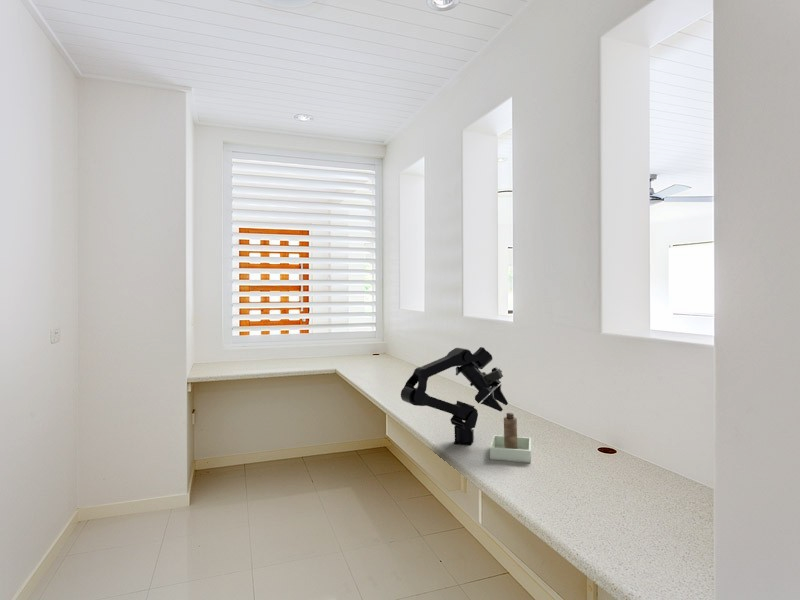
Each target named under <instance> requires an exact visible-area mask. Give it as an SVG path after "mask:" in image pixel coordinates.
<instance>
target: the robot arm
mask: <svg viewBox="0 0 800 600" xmlns="http://www.w3.org/2000/svg"><path fill="white" fill-rule="evenodd" d="M492 361H493V356H492V354H491V353H490V352H489V351H488V350H486V349H485V347H482V346H480V347H479V348H478V349H477V350H476V351H475V352H472V351H471V350H469V348H463V347H455V348H453V349H451V350H450V351H449V352H448V353H447V354H446V355H445V356H442V357H441V358H439V359H436V360H434V361H431V362H429V363H427V364H424V365H422V366H418V367H416V368H415V369H414V370H413V372H412V375H410V377H409V378H408V379H407V381H406V382H405V384H404V387H403V388H402V389H401V391H400V399H401V400H402V401H403V402H405V403H408V404H410V405H413V406H417V407H426V406H427V407H429V408H431V409H432V408H433V409H436V410H439V411H442V412H445V413H448V414H451V415H452V417H451V418H450V419H449V420H450V423H451V425H453V426H454V429H453V430H454V441H453V444H454V445H461V446H462V445H463V446H472V444H473V442H474V441H475V436H474V435H475V430H474V429H475V428H476V426H477V421H478V416H479V412H478V409H476V408H475V406H474V405H471V404H470V403H466V402H463V401H460V400H456V403H451V402H448V401H445V400H443V399H440V398H436V397H433V396H431V395H429V394H428V393H427V384H428V379H429V378H430V377H433V376H435V375H437V374H440V373H442V372H444V371H447V370H448V369H451V368H454V367H456V368H455V376H459V374H462V376H463V377H464V378H465V379H466V380H467V381H468V382H469V385H470V386H471V387H474V388H475V389H476V390H477V391H478V392H477V394H476V395H474V400H475V402H476V403H478V404H481V405H483V406H487V407H489V408H491V409H494V410H496V411H499V412H502V411H504V409H503V408H502V406H501V405H500V404H499V403H501V404H503V405H505V406H507V405H508V404H509V402H508V401H507V399H506V398H507V397H506V396H505V395H504V393H503V391H502V384H501V383H502V382H501V379H502V378H503V377H504V375H503V374H502V373H503V370H501V369H500V368H498V367H497V366H496V367H492V369H491V372H489V373H486V372H485V371H484V372H482V371H481V370H483V369H484V368H485V367H486V366H488V364H490V363H491V362H492ZM416 385H417V387H415V386H416Z"/></svg>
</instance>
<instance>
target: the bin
mask: <svg viewBox="0 0 800 600" xmlns="http://www.w3.org/2000/svg"><path fill="white" fill-rule="evenodd" d="M517 448H518V449H507V448H504V435H496V434H495V435H492V438H491V443H490V446H489V460H491V461H503V462H504V461H505V462H515V463H516V462H517V463H518V462H519V463H529V464H531V463H532V437H526V436H525V437H524V436H517Z"/></svg>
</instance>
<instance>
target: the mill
mask: <svg viewBox="0 0 800 600" xmlns="http://www.w3.org/2000/svg"><path fill="white" fill-rule="evenodd" d="M517 423H518V420H517V417H515V414H514V413H513V412H507V413H506V416H504V417H503V436H504V448H507V449H518V448H517V437H518V424H517Z"/></svg>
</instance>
